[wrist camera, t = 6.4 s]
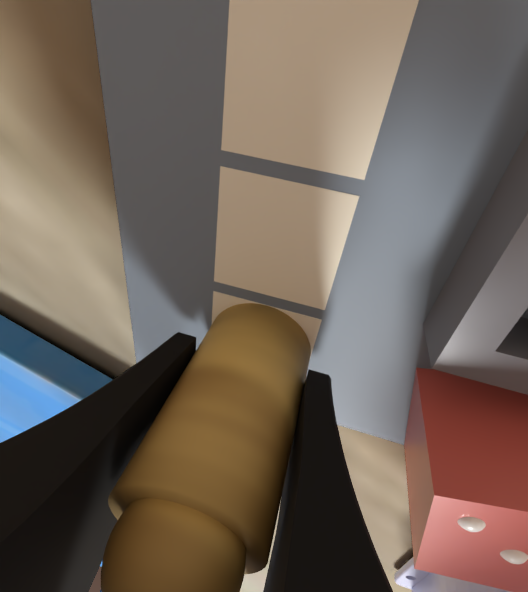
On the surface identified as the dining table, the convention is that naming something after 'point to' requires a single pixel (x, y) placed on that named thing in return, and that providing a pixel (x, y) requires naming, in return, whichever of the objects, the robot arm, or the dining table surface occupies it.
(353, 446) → the dining table surface
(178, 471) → the tan rounded peg
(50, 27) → the dining table surface
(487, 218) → the dome housing
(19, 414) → the file sorter
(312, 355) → the board
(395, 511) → the dining table surface
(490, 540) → the die
